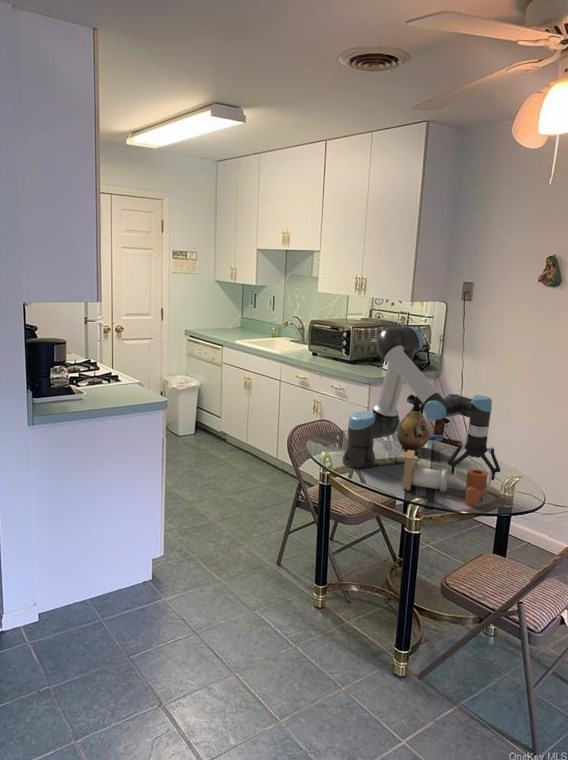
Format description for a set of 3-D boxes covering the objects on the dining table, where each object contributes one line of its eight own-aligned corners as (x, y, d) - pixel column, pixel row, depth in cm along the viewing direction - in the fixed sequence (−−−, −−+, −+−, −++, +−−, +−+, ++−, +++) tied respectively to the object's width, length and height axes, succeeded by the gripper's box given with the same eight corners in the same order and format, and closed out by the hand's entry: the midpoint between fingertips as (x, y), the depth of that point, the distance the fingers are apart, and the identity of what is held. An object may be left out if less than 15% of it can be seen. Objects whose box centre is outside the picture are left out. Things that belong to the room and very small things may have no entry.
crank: (467, 467, 242) (487, 470, 240) (465, 485, 244) (485, 487, 242) (467, 484, 223) (489, 488, 221) (465, 503, 225) (486, 507, 223)
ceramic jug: (411, 456, 277) (416, 396, 271) (389, 447, 290) (394, 389, 284) (436, 451, 286) (442, 392, 280) (414, 442, 299) (419, 386, 292)
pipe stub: (402, 489, 237) (405, 457, 234) (405, 480, 247) (407, 449, 244) (445, 496, 233) (449, 463, 230) (446, 486, 242) (449, 455, 239)
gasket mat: (446, 495, 233) (446, 494, 233) (447, 487, 241) (447, 487, 241) (482, 500, 229) (482, 499, 229) (482, 493, 237) (482, 492, 237)
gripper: (445, 432, 229) (439, 482, 234) (511, 441, 222) (504, 492, 227) (445, 427, 236) (440, 476, 241) (510, 436, 229) (503, 485, 234)
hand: (471, 484), depth 234 cm, fingers open, 13 cm apart
